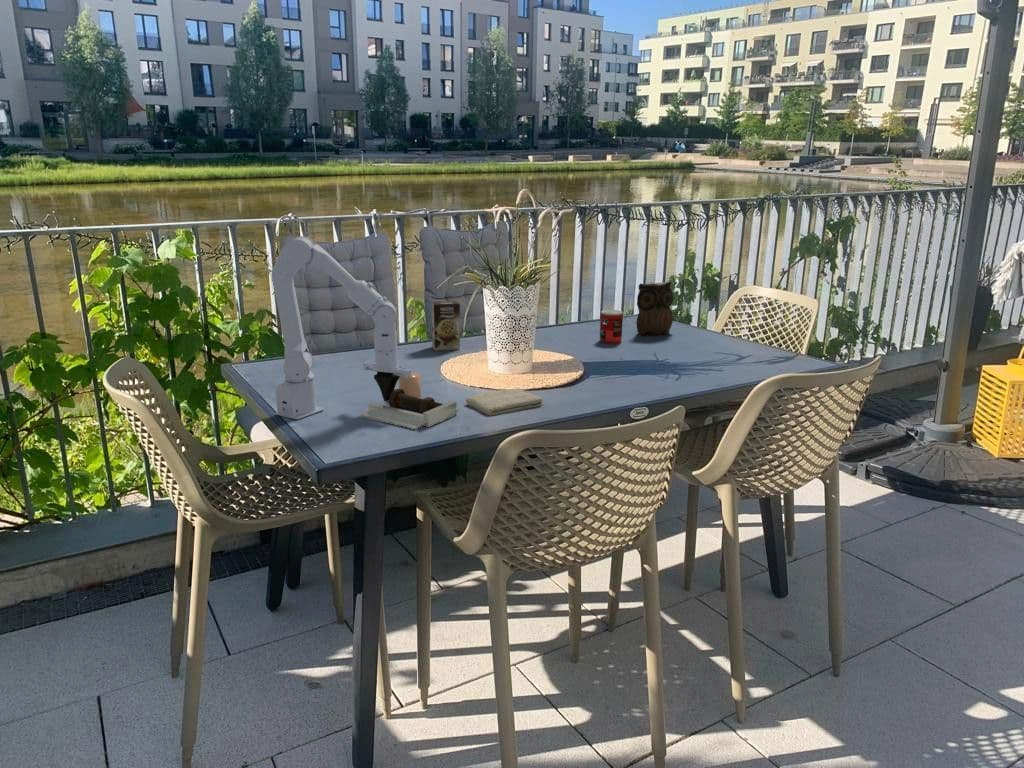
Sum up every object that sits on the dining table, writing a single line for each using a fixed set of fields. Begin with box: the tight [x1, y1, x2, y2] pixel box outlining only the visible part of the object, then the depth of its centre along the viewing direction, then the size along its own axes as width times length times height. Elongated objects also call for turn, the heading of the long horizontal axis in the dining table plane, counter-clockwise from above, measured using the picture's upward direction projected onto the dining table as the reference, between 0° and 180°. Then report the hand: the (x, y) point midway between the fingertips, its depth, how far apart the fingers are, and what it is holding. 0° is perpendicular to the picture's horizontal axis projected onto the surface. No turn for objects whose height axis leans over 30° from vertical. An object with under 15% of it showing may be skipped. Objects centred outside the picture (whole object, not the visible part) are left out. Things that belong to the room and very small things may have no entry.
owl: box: [636, 281, 675, 337], centre depth 284 cm, size 13×13×20 cm
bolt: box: [388, 388, 443, 414], centre depth 192 cm, size 6×5×15 cm
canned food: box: [599, 309, 624, 345], centre depth 273 cm, size 8×8×11 cm
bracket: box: [359, 397, 460, 431], centre depth 191 cm, size 18×20×4 cm
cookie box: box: [431, 300, 461, 352], centre depth 260 cm, size 9×6×16 cm
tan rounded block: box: [397, 371, 422, 398], centre depth 206 cm, size 6×6×6 cm
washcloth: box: [465, 387, 544, 416], centre depth 200 cm, size 12×18×3 cm, turn 124°
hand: (387, 400), depth 195 cm, fingers closed
